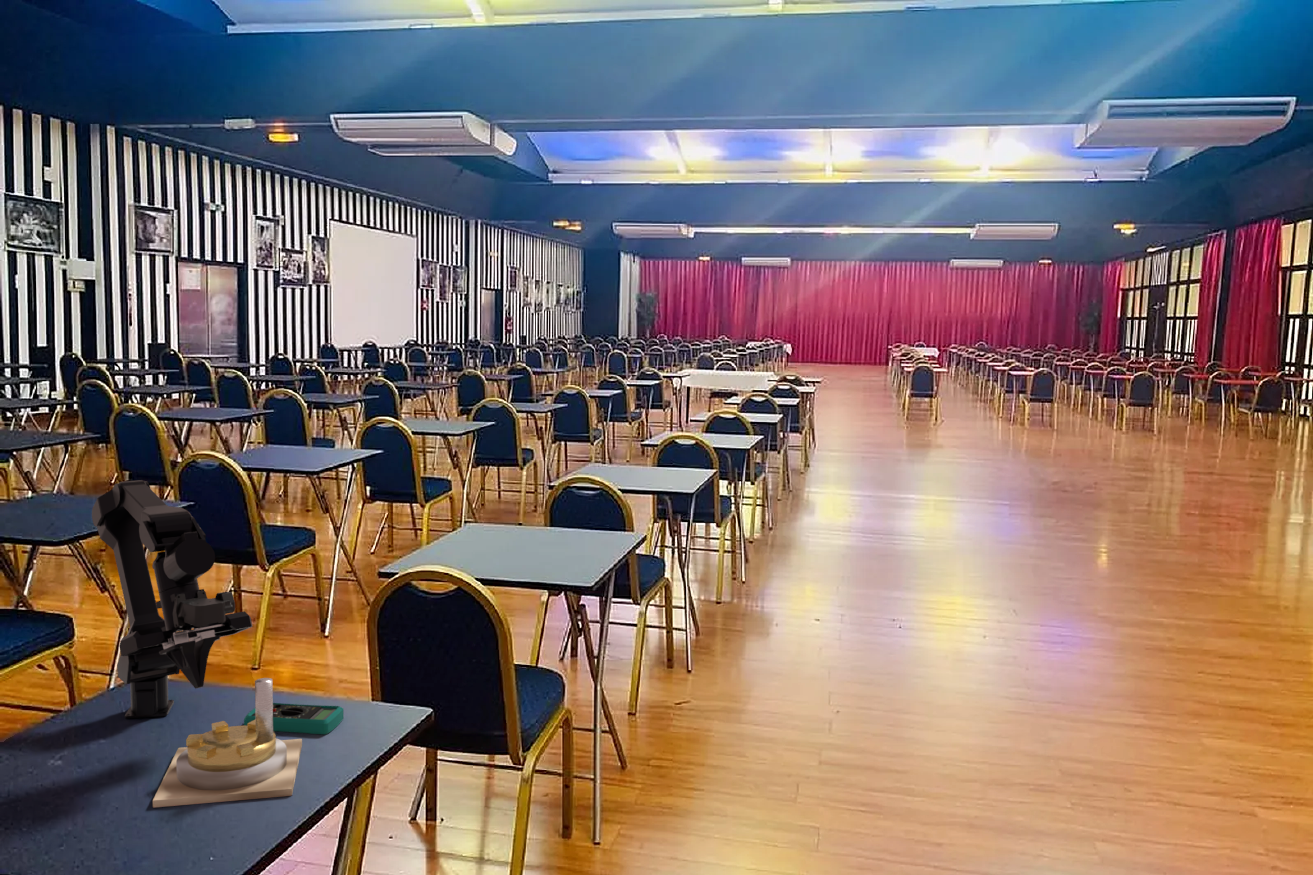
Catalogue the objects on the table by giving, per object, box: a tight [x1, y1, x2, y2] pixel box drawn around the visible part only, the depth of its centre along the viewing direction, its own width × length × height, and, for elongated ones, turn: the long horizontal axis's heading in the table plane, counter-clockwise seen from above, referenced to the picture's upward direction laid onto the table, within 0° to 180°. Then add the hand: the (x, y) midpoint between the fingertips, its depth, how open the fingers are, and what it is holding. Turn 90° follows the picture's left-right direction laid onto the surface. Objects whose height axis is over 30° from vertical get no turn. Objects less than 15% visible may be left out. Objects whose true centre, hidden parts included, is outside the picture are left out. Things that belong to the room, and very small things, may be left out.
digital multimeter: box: [243, 702, 345, 736], centre depth 170 cm, size 7×15×3 cm, turn 86°
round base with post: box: [185, 677, 277, 772], centre depth 150 cm, size 12×12×11 cm
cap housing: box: [152, 738, 303, 808], centre depth 151 cm, size 18×18×3 cm
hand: (199, 687), depth 157 cm, fingers closed
